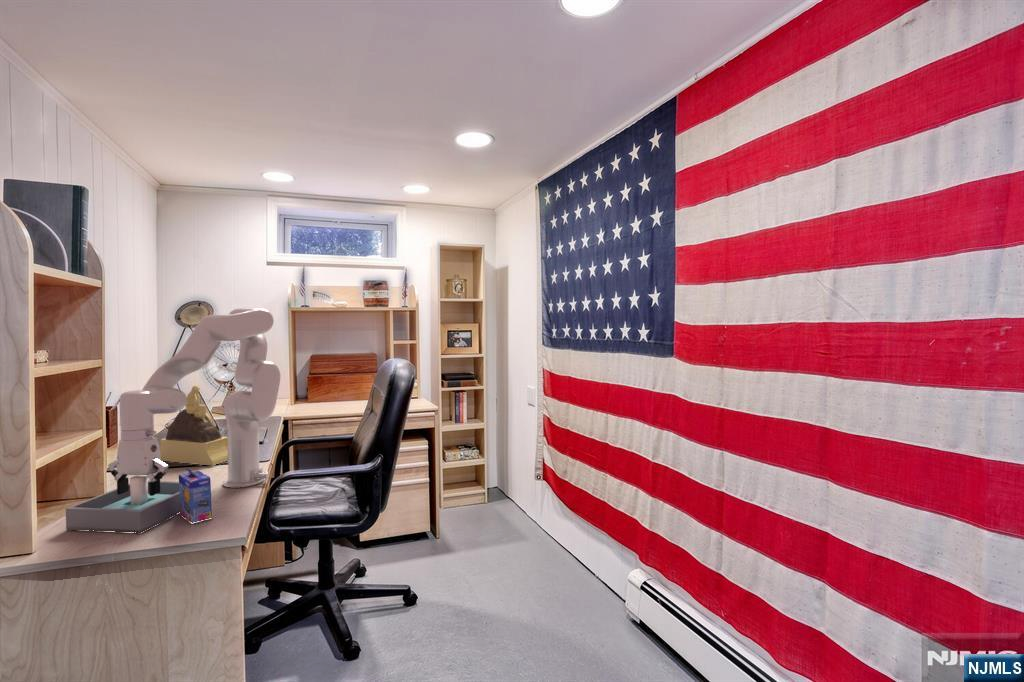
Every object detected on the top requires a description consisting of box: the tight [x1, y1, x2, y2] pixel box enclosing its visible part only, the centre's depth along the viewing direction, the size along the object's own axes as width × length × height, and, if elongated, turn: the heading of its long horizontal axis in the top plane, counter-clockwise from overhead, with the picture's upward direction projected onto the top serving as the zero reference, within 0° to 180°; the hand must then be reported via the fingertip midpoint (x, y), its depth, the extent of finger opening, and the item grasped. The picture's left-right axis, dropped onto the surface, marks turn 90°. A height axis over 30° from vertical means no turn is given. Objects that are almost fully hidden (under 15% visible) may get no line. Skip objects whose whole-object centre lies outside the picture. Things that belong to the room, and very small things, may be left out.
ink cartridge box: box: [177, 467, 214, 523], centre depth 140 cm, size 10×6×14 cm, turn 51°
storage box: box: [65, 480, 180, 533], centre depth 141 cm, size 21×23×6 cm
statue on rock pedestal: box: [159, 385, 228, 467], centre depth 197 cm, size 28×13×30 cm, turn 76°
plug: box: [129, 475, 149, 505], centre depth 141 cm, size 4×4×10 cm
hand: (138, 493), depth 141 cm, fingers open, 9 cm apart
